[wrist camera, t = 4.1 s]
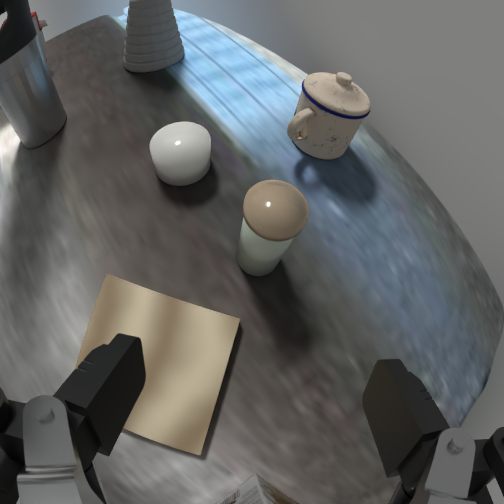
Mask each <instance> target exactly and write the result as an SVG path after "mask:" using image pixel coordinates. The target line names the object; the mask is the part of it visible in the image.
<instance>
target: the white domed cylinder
mask: <svg viewBox="0 0 504 504" xmlns="http://www.w3.org/2000/svg"><path fill="white" fill-rule="evenodd" d="M150 151H151V155H152V159H153V163H154V167H155V171H156V174H157V176H158V177H159V178H160V179H161V180H162V181H163V182H165V183H167V184H170V185H174V186H184V185H189V184H192V183H195V182H197V181H199V180H200V179H201V178H203V177H204V176H205V175H206V173H207V172H208V170H209V168H210V161H211V138H210V135H209V133H208V131H207V130H206V129H205V128H204V127H202V126H200V125H198V124H196V123H192V122H177V123H173V124H169V125H167V126H165V127H163V128H161V129H160V130H159V131H158V132H156V133H155V135H154V136H153V138H152V139H151V142H150Z"/></svg>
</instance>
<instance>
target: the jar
mask: <svg viewBox="0 0 504 504" xmlns="http://www.w3.org/2000/svg"><path fill="white" fill-rule="evenodd" d="M243 216H244V218H243V223H242V228H241V233H240V238H239V243H238V248H237V255H236V256H237V262H238V264H239V266H240V267H241V269H242V270H243V271H245V272H246V273H248V274H250V275H252V276H264V275H267V274H269V273H271V272H272V271H273V270H274V269H275V267H276V266H277V264H278V263H279V261H280V259H281V258H282V256H283V255H284V253H285V251H286V250H287V248H288V247H289V245H290V243H291V242H292V240H293V239H294V237H295V236H297V235H298V234H299V233H300V232H301V231H302V229H303V227H304V226H305V224H306V222H307V220H308V217H309V207H308V203H307V201H306V199H305V197H304V196H303V194H302V193H301V192H300V191H299V190H298V189H297V188H295V187H294V186H292V185H291V184H289V183H286V182H284V181H280V180H266V181H262V182H259V183H257V184H255V185H254V186H253V187H251V188H250V190H249V191H248V192H247V194H246V196H245V200H244V205H243Z"/></svg>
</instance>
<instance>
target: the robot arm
mask: <svg viewBox="0 0 504 504" xmlns="http://www.w3.org/2000/svg"><path fill="white" fill-rule="evenodd" d="M6 11H7V14H8V16H7V20H6V22H5V24H4V25H3V27H2V28H1V30H0V106H1V108H2V109H3V111H4V113H5V115H6V117H7V118H8V120H9V122H10V123H11V125H12V127H13V128H14V130H15V132H16V133H17V135H18V137H19V138H20V140H21V141H22V143H23V145H24V146H25V147H27V148H34V147H38V146H40V145H42V144H44V143H45V142H47V141H48V140H50V139H51V138H52V137H53V136H54V135H56V134H57V133H58V131H59V130H60V129H61V128H62V126H63V125H64V123H65V121H66V112H65V110H64V108H63V105H62V103H61V100H60V98H59V95H58V93H57V90H56V87H55V85H54V82H53V80H52V77H51V74H50V72H49V69H48V66H47V63H46V60H45V57H44V55H43V51H42V49H41V46H40V42H39V39H38V36H37V33H36V29H35V26H34V23H33V20H32V16H31V12H30V8H29V3H28V0H0V15H1V14H2V13H4V12H6ZM145 380H146V370H145V363H144V356H143V348H142V342H141V339H140V338H139V337H135V336H131V335H126V334H122V333H118V334H117V335H116V336H115V337H114V338H113V339H112V340H111V342H110V343H109V344H108V345H107V344H102V345H100V346H98V347H97V348H95V349H93V350H92V351H91V352H90V353H89V354H88V355H87V356H86V357H85V359H84V361H82V362H81V363H80V364H79V365H78V368H77V369H75V370H74V371H73V372H72V374H71V375H70V376H69V377H68V378H67V380H66V381H65V382H64V383H63V384H62V386H61V387H60V388H59V389H58V390H57V392H56V393H55V394H54V395H53V396H38V397H35V398H33V399H31V400H30V401H29V402H28V403H27V404H25V403H20V402H16V401H11V400H7V398H6V396H5V394H4V392H3V390H2V389H1V388H0V504H16V502H17V500H18V498H19V497H20V502H21V504H110V503H109V501H108V498H107V496H106V493H105V491H104V488H103V485H102V483H101V480H100V477H99V474H98V471H97V468H96V465H95V462H94V460H93V459H94V457H95V455H96V453H97V452H98V453H101V454H104V455H106V456H109V455H110V453H111V451H112V449H113V447H114V445H115V443H116V441H117V439H118V437H119V435H120V433H121V431H122V429H123V427H124V425H125V423H126V421H127V419H128V417H129V415H130V413H131V411H132V409H133V407H134V405H135V403H136V401H137V400H138V398H139V396H140V394H141V392H142V390H143V388H144V385H145ZM362 402H363V409H364V411H365V414H366V417H367V420H368V423H369V425H370V428H371V431H372V434H373V437H374V440H375V443H376V445H377V448H378V451H379V454H380V457H381V460H382V463H383V467H384V470H385V473H386V476H387V478H389V477H394V476H398V475H400V477H401V481H400V482H399V483H398V485H397V487H396V489H395V491H394V493H393V495H392V497H391V499H390V501H389V503H388V504H493V501H492V499H491V496H490V494H489V491H488V489H487V486H486V485H487V484H488V483H489V482H490V481H491V480H493V479H494V478H496V480H497V482H498V484H499V487H500V489H501V491H502V494H503V496H504V427H501V428H499V429H497V430H496V431H495V433H494V434H493V435H492V436H491V437H490V439H483V440H474V439H473V438H472V436H471V435H470V434H469V433H467V432H466V431H464V430H462V429H459V428H450V427H449V425H448V423H447V422H446V420H445V418H444V417H443V415H442V413H441V412H440V410H439V408H438V407H437V405H436V403H435V402H434V400H432V397H431V395H430V394H429V392H427V389H426V388H425V386H424V385H423V383H422V381H421V380H420V379H419V378H418V377H416V376H415V375H414V374H413V373H411V372H408V371H407V369H406V368H405V366H404V364H403V363H402V361H401V360H400V359H383V360H378V361H377V363H376V364H375V367H374V369H373V372H372V374H371V377H370V379H369V381H368V384H367V386H366V388H365V391H364V394H363V400H362Z"/></svg>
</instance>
